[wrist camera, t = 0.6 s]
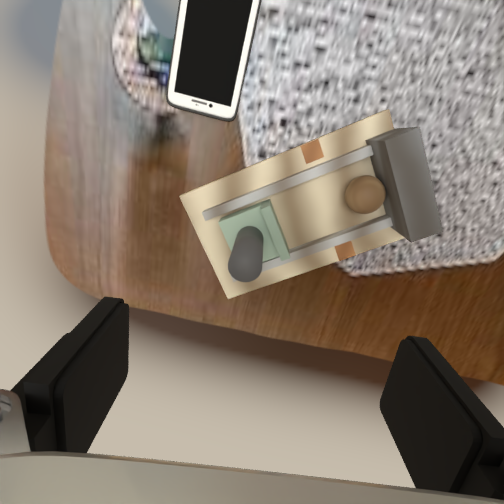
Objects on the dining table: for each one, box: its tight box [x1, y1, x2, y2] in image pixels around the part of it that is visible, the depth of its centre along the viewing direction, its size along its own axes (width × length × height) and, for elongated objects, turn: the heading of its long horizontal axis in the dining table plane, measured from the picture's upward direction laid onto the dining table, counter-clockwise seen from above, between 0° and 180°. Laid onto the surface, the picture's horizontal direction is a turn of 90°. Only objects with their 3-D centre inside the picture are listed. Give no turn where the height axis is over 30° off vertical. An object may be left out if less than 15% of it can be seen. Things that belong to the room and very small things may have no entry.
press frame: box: [179, 109, 443, 299], centre depth 35 cm, size 24×14×8 cm, turn 112°
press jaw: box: [218, 199, 290, 282], centre depth 33 cm, size 6×6×10 cm
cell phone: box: [166, 0, 261, 121], centre depth 33 cm, size 8×15×1 cm, turn 166°
